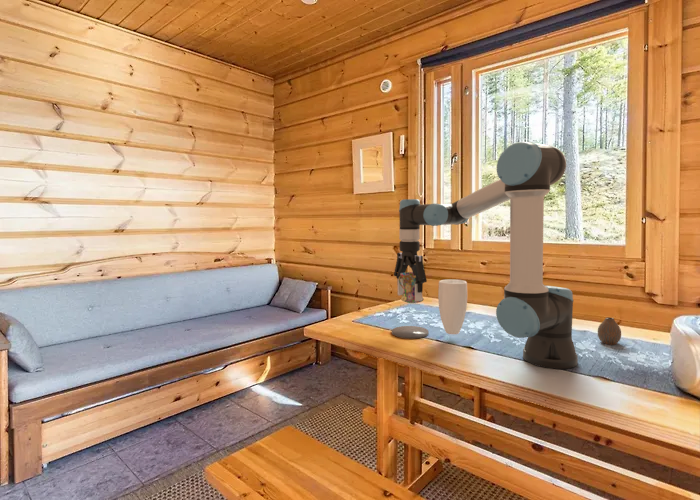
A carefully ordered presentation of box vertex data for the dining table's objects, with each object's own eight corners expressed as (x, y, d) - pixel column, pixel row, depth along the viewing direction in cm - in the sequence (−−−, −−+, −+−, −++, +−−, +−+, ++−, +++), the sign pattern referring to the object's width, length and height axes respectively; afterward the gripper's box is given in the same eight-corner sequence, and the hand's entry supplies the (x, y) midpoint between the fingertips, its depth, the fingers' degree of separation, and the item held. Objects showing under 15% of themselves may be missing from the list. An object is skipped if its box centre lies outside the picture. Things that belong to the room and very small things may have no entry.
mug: (430, 302, 153) (430, 274, 152) (412, 305, 147) (412, 276, 146) (407, 297, 162) (407, 270, 161) (390, 300, 157) (390, 272, 156)
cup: (471, 339, 148) (471, 280, 146) (461, 346, 139) (462, 284, 137) (444, 334, 154) (444, 278, 152) (433, 342, 145) (433, 282, 143)
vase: (609, 347, 137) (610, 321, 136) (592, 341, 143) (593, 316, 142) (625, 345, 138) (626, 319, 138) (608, 339, 145) (609, 315, 144)
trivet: (436, 335, 153) (436, 333, 153) (404, 341, 147) (404, 338, 147) (414, 326, 165) (414, 324, 165) (385, 331, 159) (384, 328, 159)
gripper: (437, 242, 144) (436, 302, 146) (401, 238, 165) (401, 291, 167) (419, 243, 141) (419, 305, 143) (385, 239, 162) (385, 293, 164)
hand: (409, 297), depth 155 cm, fingers closed on mug, 11 cm apart
